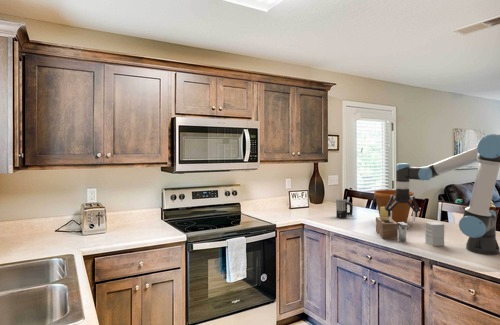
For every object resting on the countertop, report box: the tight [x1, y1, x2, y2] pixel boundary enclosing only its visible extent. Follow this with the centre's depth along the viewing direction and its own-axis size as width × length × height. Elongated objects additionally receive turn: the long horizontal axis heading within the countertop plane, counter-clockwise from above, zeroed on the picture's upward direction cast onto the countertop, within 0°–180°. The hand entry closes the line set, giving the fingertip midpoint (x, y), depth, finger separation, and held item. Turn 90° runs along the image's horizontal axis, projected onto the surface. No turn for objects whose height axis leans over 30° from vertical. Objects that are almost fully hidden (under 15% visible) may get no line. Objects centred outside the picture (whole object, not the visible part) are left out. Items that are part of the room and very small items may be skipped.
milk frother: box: [335, 199, 354, 219], centre depth 274 cm, size 14×16×15 cm
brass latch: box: [379, 207, 390, 220], centre depth 215 cm, size 1×7×8 cm, turn 80°
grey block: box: [398, 222, 409, 243], centre depth 199 cm, size 7×4×11 cm, turn 171°
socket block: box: [375, 216, 399, 240], centre depth 214 cm, size 19×9×10 cm, turn 171°
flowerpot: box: [373, 189, 415, 224], centre depth 250 cm, size 28×28×24 cm
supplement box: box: [424, 221, 445, 247], centre depth 191 cm, size 7×7×13 cm
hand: (402, 222), depth 199 cm, fingers open, 13 cm apart
